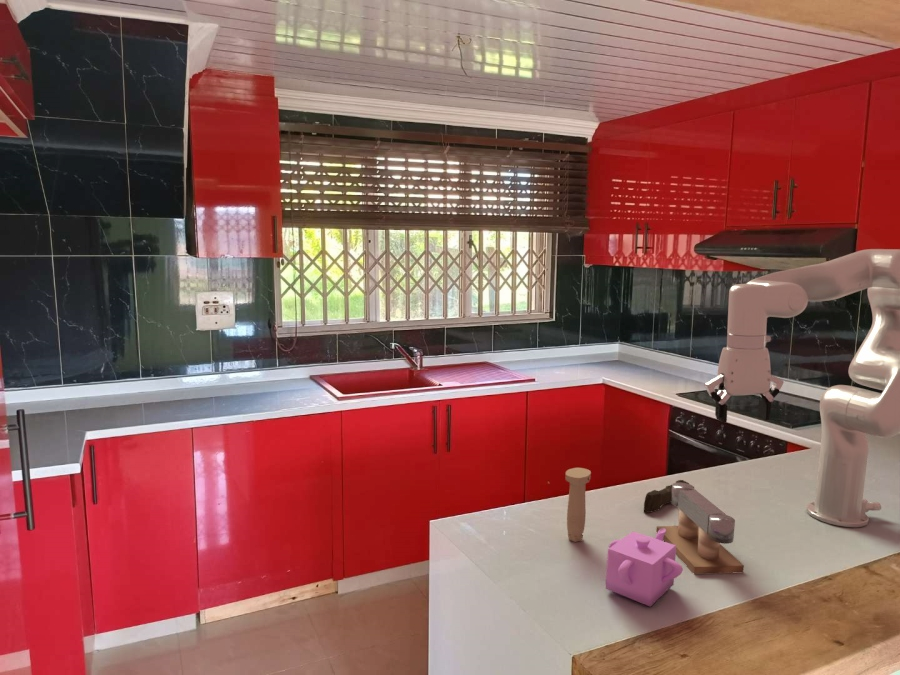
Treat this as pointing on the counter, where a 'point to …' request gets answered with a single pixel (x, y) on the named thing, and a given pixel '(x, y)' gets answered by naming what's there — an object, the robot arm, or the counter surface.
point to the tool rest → (699, 548)
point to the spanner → (703, 513)
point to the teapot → (641, 567)
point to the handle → (576, 502)
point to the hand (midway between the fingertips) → (742, 419)
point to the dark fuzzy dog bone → (658, 498)
